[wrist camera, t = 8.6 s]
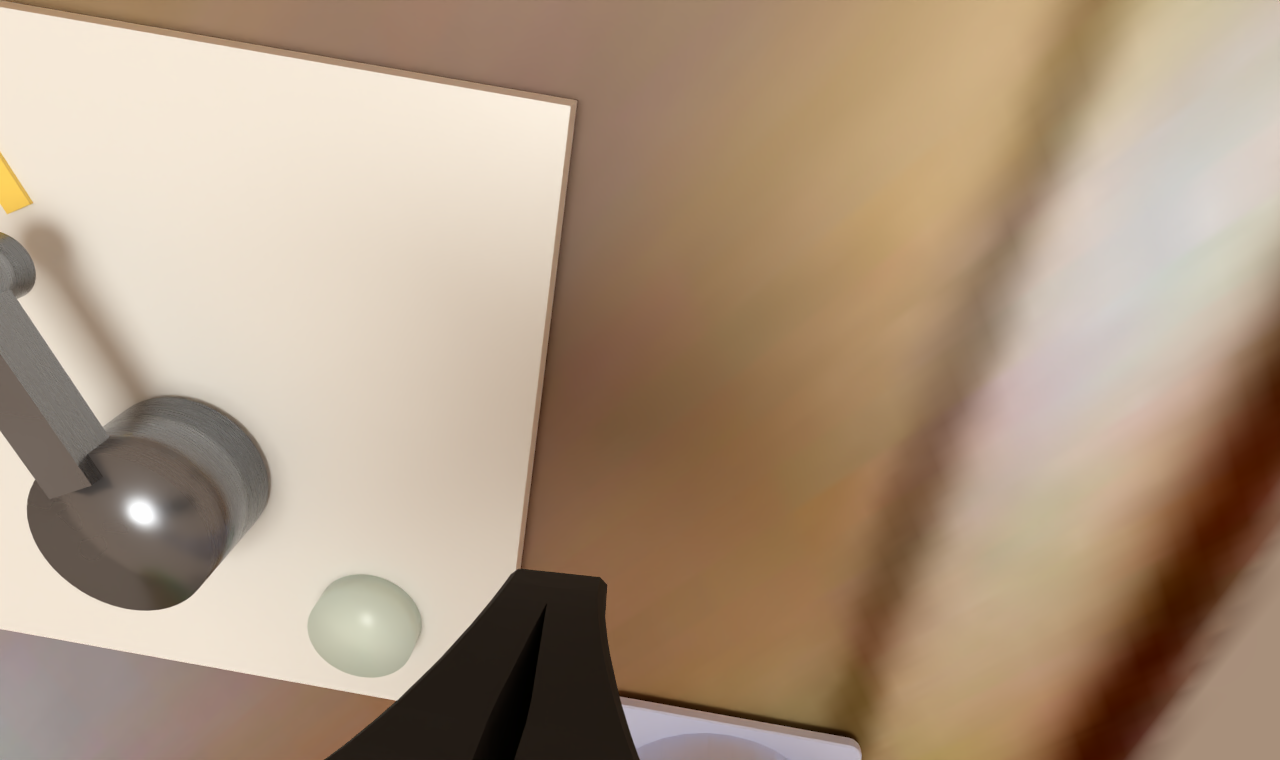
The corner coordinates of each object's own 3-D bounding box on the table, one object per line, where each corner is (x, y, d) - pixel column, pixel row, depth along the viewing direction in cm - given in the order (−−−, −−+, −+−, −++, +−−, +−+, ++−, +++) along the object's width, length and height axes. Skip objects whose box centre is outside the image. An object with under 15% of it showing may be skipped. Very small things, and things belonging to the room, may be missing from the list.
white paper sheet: (505, 694, 28) (492, 739, 26) (2, 603, 28) (-43, 642, 26) (577, 100, 20) (564, 111, 18) (-114, -20, 20) (-187, -20, 19)
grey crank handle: (298, 517, 24) (236, 596, 21) (164, 557, 25) (86, 638, 22) (98, 185, 21) (-12, 222, 18) (-48, 246, 22) (-177, 291, 18)
